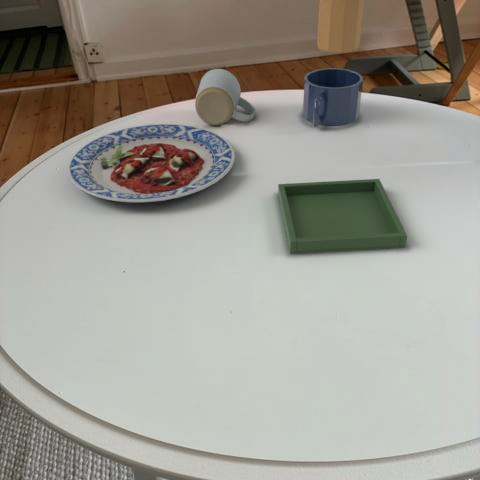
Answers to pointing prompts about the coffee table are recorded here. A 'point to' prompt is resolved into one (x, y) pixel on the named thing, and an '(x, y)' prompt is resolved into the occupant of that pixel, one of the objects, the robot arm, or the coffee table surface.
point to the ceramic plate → (151, 163)
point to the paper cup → (339, 25)
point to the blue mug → (332, 96)
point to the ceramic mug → (221, 98)
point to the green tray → (339, 217)
